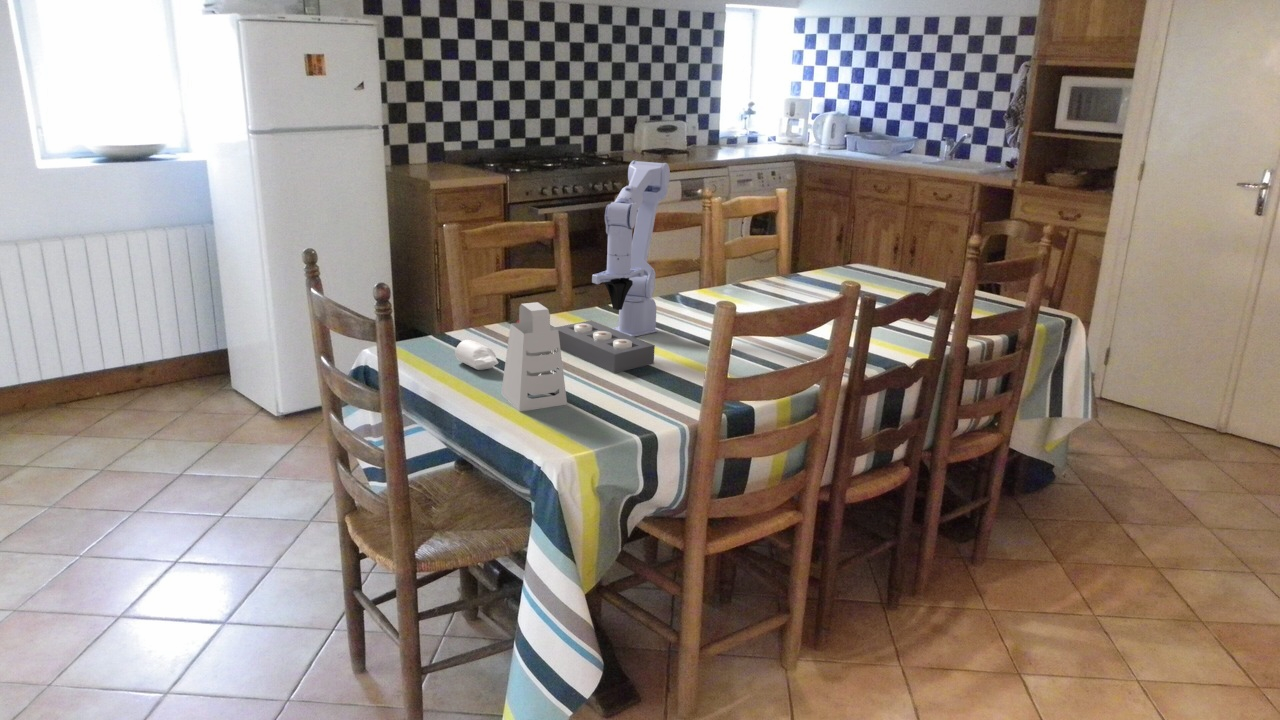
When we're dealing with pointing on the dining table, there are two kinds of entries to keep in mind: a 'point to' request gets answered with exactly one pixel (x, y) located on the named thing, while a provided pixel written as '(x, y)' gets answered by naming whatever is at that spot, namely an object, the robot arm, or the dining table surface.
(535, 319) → the grater
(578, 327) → the button
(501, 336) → the dining table surface
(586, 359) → the mount
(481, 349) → the roll
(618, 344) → the button
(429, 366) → the dining table surface
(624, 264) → the robot arm
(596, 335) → the button middle
